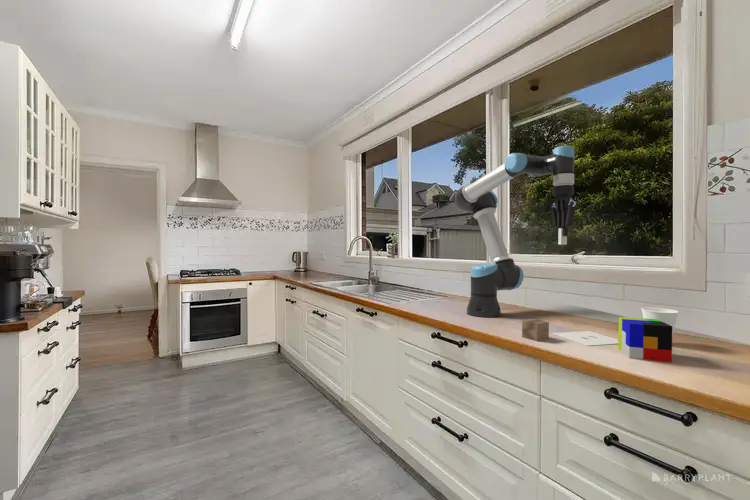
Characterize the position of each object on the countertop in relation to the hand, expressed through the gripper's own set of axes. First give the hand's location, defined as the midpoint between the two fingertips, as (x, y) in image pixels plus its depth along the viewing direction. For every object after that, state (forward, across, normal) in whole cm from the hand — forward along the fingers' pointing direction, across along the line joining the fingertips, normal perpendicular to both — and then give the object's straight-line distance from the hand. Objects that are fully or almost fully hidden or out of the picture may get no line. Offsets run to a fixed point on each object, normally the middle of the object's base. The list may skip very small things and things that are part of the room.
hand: (562, 244), depth 144 cm
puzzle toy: (+33, +39, -5) cm, 51 cm away
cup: (+33, +30, +12) cm, 46 cm away
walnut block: (+33, +16, -24) cm, 43 cm away
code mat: (+32, +20, -6) cm, 39 cm away
